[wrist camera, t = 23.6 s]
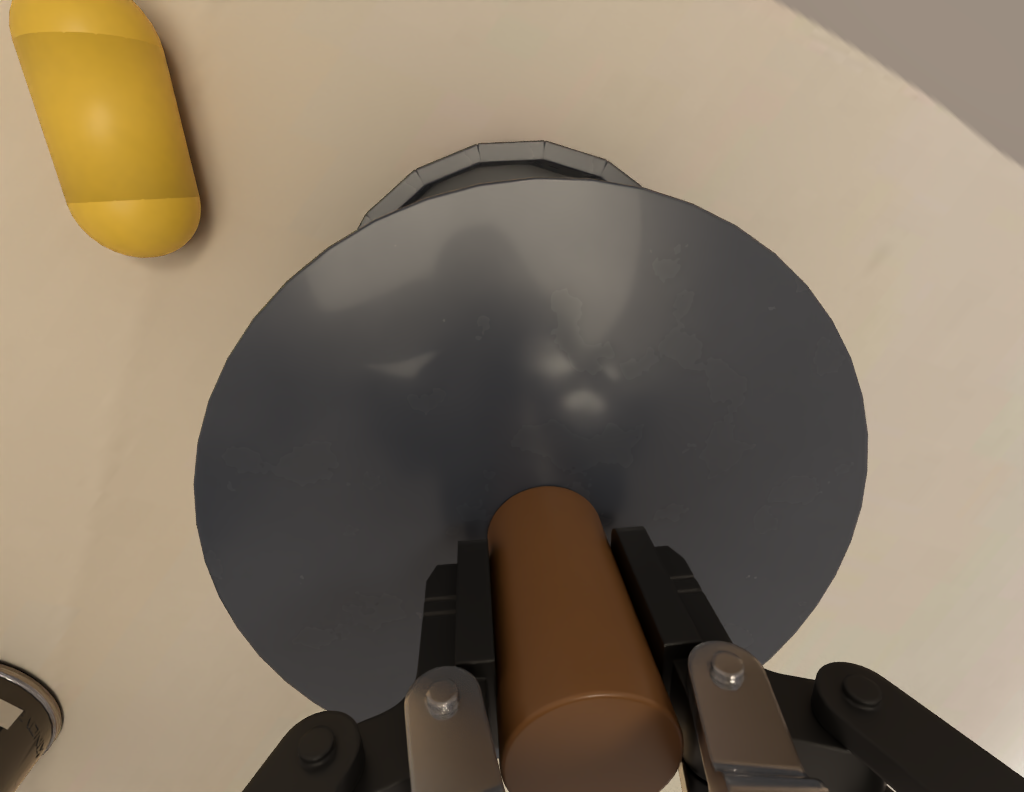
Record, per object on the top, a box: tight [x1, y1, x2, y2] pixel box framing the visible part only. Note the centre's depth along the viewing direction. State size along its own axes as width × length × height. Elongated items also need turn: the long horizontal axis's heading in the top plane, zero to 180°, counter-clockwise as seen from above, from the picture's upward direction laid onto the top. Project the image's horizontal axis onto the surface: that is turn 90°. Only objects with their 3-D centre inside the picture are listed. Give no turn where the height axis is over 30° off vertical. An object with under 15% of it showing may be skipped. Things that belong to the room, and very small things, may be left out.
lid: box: [194, 177, 868, 792], centre depth 12 cm, size 17×17×7 cm
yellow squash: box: [9, 0, 201, 258], centre depth 22 cm, size 11×5×5 cm, turn 3°
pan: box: [358, 140, 642, 229], centre depth 26 cm, size 16×22×6 cm
